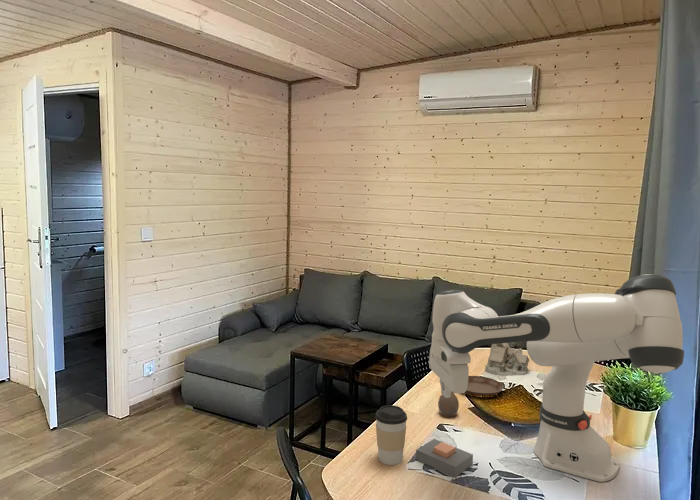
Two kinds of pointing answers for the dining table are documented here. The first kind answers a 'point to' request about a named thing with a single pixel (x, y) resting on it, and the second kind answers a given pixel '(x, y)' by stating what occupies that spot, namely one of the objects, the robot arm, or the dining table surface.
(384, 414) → the coffee cup
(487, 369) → the ceramic cottage
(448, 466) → the block
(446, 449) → the button
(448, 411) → the vase
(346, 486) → the dining table surface
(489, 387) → the plant saucer
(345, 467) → the dining table surface
